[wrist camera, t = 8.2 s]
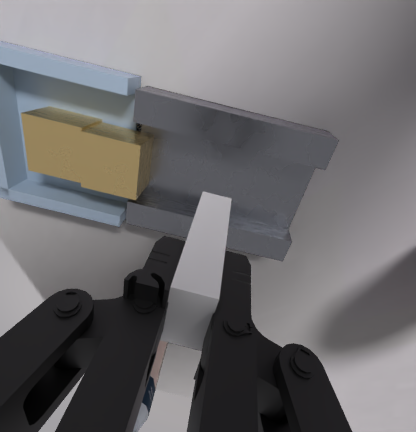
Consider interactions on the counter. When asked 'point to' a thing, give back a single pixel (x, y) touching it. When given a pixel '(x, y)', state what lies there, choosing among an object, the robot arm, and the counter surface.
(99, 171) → the block
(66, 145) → the tan small block
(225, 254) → the robot arm
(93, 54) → the counter surface
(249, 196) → the slot rail
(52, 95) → the chip tray
